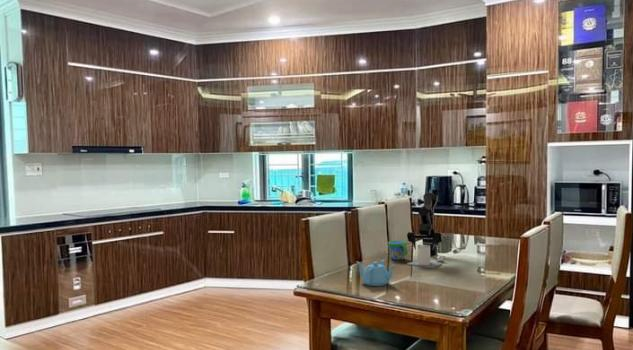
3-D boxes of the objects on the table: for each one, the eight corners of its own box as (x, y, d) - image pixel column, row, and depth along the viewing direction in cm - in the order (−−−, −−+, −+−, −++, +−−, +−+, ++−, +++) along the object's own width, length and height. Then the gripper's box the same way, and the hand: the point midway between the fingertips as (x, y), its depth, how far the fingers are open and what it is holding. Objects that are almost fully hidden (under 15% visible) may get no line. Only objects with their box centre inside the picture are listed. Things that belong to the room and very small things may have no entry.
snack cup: (412, 260, 266) (412, 243, 266) (397, 262, 262) (396, 244, 262) (398, 256, 281) (397, 239, 280) (383, 258, 277) (382, 241, 276)
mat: (406, 264, 255) (406, 263, 255) (416, 261, 262) (416, 260, 262) (432, 268, 244) (432, 267, 244) (442, 265, 251) (441, 263, 251)
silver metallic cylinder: (435, 262, 260) (435, 256, 260) (438, 261, 262) (438, 255, 262) (441, 262, 257) (441, 257, 257) (444, 261, 260) (444, 256, 260)
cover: (419, 262, 257) (418, 244, 257) (430, 262, 255) (429, 244, 255) (418, 264, 251) (417, 246, 251) (429, 264, 249) (428, 246, 249)
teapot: (365, 289, 209) (365, 266, 209) (356, 281, 224) (355, 260, 224) (396, 286, 212) (395, 264, 212) (384, 278, 227) (383, 257, 227)
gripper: (406, 218, 260) (404, 240, 249) (440, 218, 253) (439, 241, 243) (409, 229, 267) (407, 252, 257) (442, 230, 261) (441, 253, 251)
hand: (423, 249), depth 252 cm, fingers open, 9 cm apart
